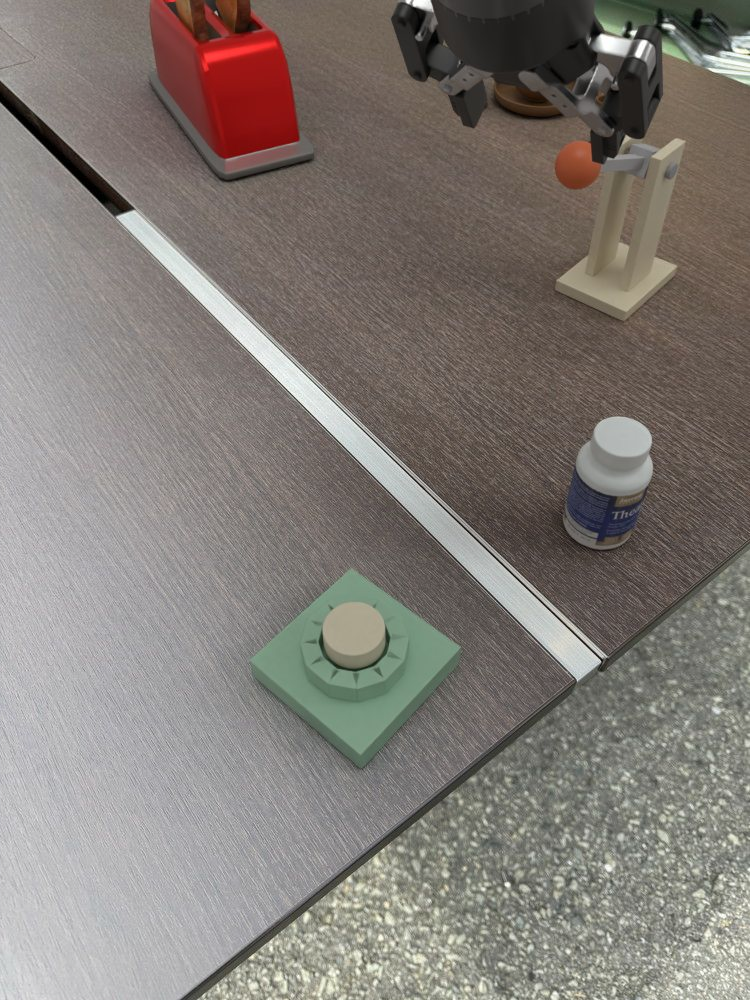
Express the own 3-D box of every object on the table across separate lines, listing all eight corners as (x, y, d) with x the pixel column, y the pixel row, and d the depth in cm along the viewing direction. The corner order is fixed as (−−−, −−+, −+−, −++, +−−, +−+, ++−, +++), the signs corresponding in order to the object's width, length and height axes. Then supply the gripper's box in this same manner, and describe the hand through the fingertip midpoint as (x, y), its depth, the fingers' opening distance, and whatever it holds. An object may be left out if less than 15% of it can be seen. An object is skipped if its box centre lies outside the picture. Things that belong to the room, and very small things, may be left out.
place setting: (602, 82, 116) (610, 36, 111) (614, 153, 103) (624, 105, 98) (474, 79, 117) (477, 33, 113) (470, 149, 104) (474, 101, 100)
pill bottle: (607, 564, 63) (636, 476, 55) (548, 526, 65) (568, 438, 58) (645, 522, 65) (678, 433, 58) (587, 487, 68) (610, 398, 60)
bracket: (623, 322, 82) (660, 178, 70) (554, 290, 85) (578, 148, 74) (674, 275, 86) (716, 134, 75) (606, 247, 90) (637, 108, 79)
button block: (459, 663, 58) (463, 632, 55) (361, 770, 53) (359, 742, 50) (352, 584, 62) (350, 552, 59) (252, 676, 57) (245, 645, 54)
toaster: (145, 81, 119) (111, -75, 104) (231, 63, 122) (210, -91, 108) (221, 185, 100) (192, 11, 85) (320, 159, 103) (308, -11, 89)
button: (398, 639, 55) (398, 625, 53) (356, 681, 53) (355, 667, 51) (352, 605, 56) (351, 590, 55) (311, 644, 55) (309, 630, 53)
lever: (579, 197, 66) (595, 149, 64) (540, 182, 67) (555, 134, 65) (659, 187, 77) (675, 146, 75) (625, 174, 79) (640, 134, 77)
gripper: (701, -122, 34) (677, 103, 49) (392, -173, 38) (459, 48, 54) (625, 49, 34) (625, 220, 50) (326, -21, 38) (411, 156, 54)
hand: (538, 131), depth 52 cm, fingers open, 8 cm apart
